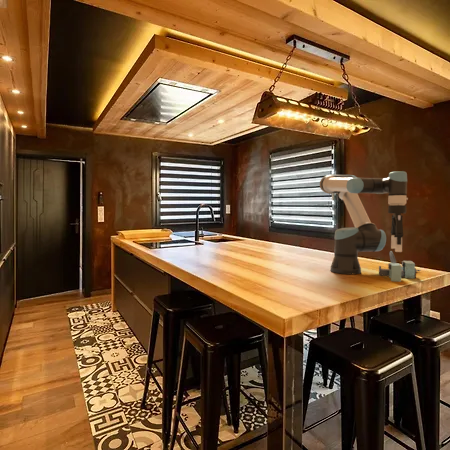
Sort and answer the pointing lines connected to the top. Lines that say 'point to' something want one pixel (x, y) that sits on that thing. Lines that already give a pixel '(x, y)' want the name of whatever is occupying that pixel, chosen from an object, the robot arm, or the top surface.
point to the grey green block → (395, 271)
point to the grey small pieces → (395, 259)
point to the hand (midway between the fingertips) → (396, 250)
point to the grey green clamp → (407, 271)
